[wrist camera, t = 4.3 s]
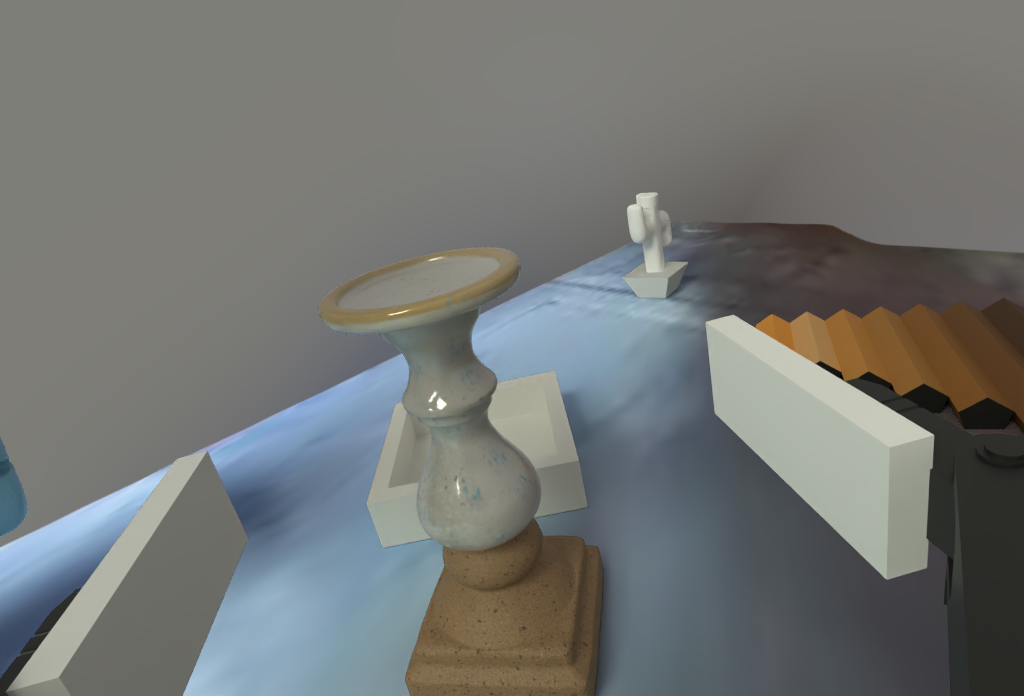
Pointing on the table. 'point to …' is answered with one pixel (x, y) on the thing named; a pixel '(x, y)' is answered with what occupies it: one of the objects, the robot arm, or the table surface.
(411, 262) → the candle holder
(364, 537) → the table surface
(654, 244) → the figurine
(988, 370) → the pan flute
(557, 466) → the rimmed tray
